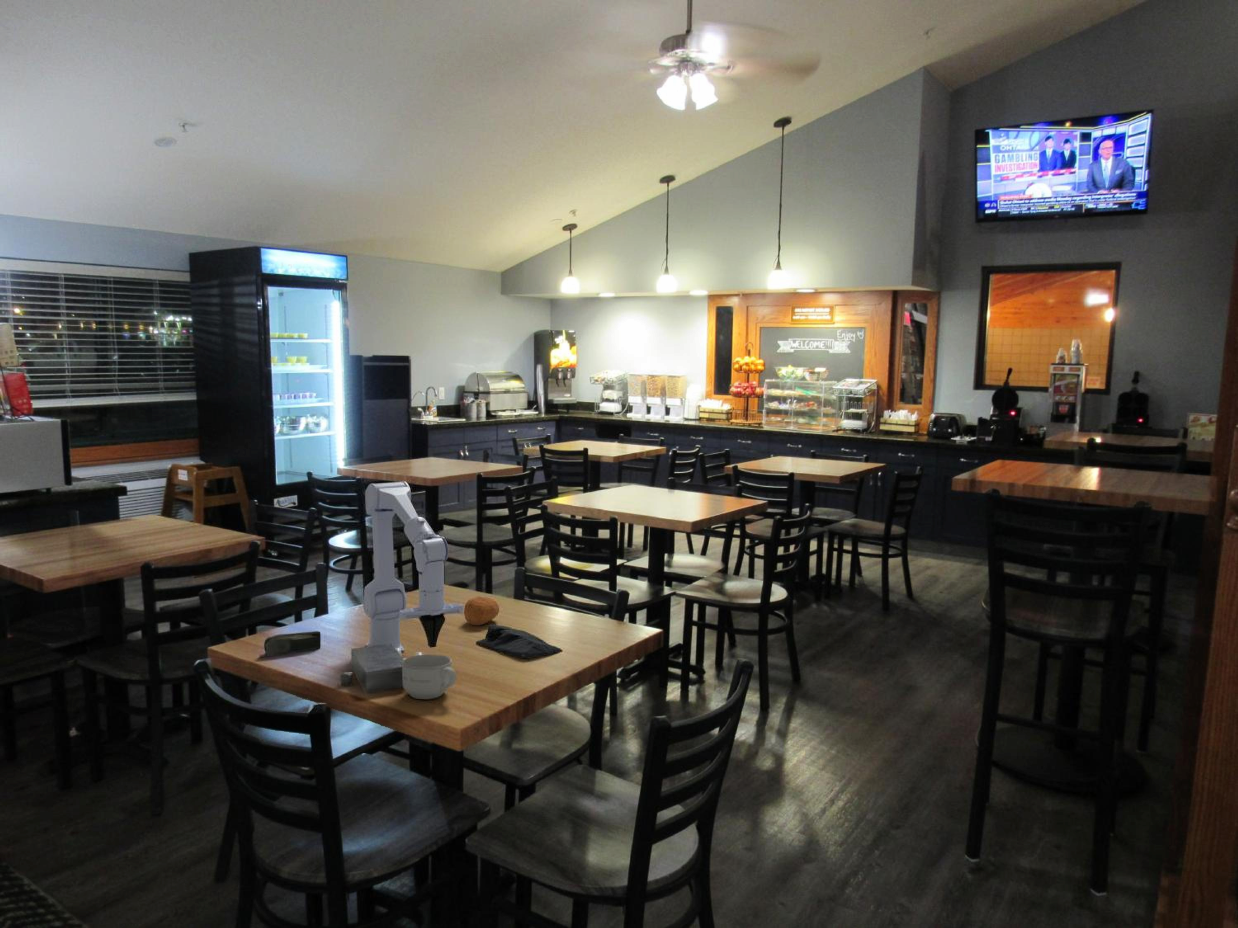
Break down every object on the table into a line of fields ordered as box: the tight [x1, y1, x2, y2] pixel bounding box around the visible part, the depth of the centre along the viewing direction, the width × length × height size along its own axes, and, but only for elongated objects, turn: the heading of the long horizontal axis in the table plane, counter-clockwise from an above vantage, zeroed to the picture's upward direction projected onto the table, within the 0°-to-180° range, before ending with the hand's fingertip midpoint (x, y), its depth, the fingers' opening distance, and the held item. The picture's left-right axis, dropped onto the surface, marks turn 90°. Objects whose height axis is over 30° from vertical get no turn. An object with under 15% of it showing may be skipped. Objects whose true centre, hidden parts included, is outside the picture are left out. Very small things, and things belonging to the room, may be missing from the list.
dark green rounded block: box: [259, 630, 322, 658], centre depth 216 cm, size 5×3×15 cm
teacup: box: [402, 654, 457, 700], centre depth 187 cm, size 14×11×8 cm
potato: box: [463, 595, 500, 626], centre depth 244 cm, size 9×11×8 cm
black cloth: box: [476, 624, 563, 659], centre depth 223 cm, size 15×22×5 cm
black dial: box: [339, 671, 354, 687], centre depth 194 cm, size 3×3×3 cm
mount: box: [350, 644, 404, 694], centre depth 199 cm, size 18×10×5 cm, turn 27°
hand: (432, 645), depth 198 cm, fingers closed
